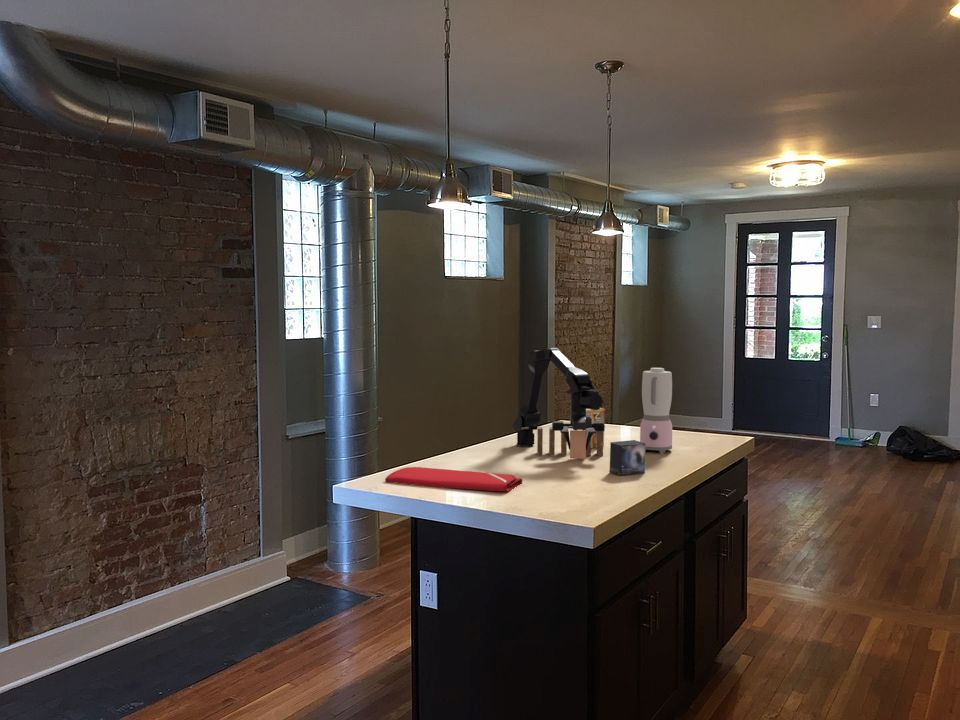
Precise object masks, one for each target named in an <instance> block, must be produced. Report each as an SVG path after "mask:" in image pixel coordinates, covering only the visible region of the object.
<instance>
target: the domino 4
mask: <svg viewBox="0 0 960 720" xmlns="http://www.w3.org/2000/svg"><path fill="white" fill-rule="evenodd" d="M569 439H570V450H569V458H570V459H585V460H586V458H587V456H586V430H573V429H570V430H569Z"/></svg>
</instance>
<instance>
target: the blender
mask: <svg viewBox="0 0 960 720" xmlns="http://www.w3.org/2000/svg"><path fill="white" fill-rule="evenodd" d="M672 374H673V373H672V372H671V371H669V370H668V371H667V370H665V368H663V367H650V370H644V371H643V372H642V380H641V399H642V400H641V401H642V408H643V417H642V419H641V422H640V426H639V430H640V432H639V442H643V443H646V446H645V453H646V452H647V450H649V451H658V453H659V454H660V453H663V454H665V453H666V451H668V450H669V451H670V450H672V449H673V424H672V421H671V419H670V410H671V405H672V400H673V399H672V398H673V376H672Z"/></svg>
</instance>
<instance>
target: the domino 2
mask: <svg viewBox="0 0 960 720" xmlns="http://www.w3.org/2000/svg"><path fill="white" fill-rule="evenodd" d="M548 430H549V431H548V433H549V434H548V435H549V436H548V437H549V439H548V455H549V454H550V455H556V454H555V451H556V449H555V444H556V443H555V442H556V439H555V438H556V436H555V435H556V434H555V433H556V431H553V430H552V426H549V429H548ZM550 455H549V456H550Z"/></svg>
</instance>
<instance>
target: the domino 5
mask: <svg viewBox="0 0 960 720" xmlns="http://www.w3.org/2000/svg"><path fill="white" fill-rule="evenodd" d="M586 435H587V429H586ZM591 449H592V448H591V439H590V442H589V444H588V447H587V450H586V457H591V456H592V450H591Z"/></svg>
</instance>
